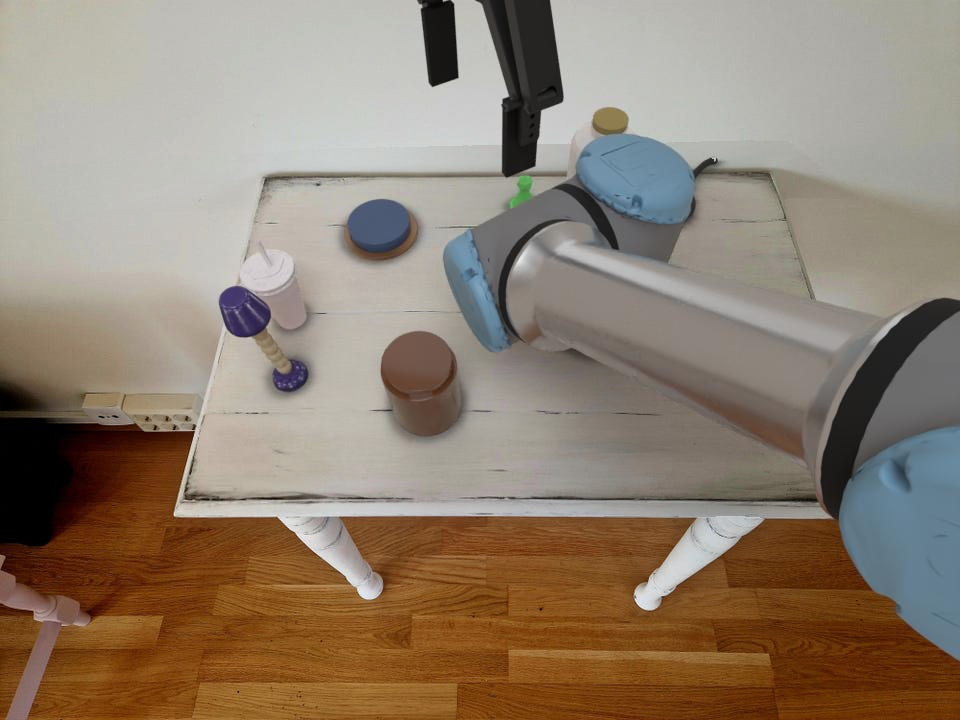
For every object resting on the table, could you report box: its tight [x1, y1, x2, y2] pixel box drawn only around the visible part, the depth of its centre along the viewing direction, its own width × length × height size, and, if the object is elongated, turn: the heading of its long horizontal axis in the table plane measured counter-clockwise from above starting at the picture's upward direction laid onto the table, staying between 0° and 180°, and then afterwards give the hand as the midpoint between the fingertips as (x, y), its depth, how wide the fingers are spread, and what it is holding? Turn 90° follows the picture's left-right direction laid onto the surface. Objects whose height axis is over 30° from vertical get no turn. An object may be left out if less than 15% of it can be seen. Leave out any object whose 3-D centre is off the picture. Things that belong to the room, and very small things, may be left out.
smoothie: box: [239, 238, 308, 330], centre depth 68 cm, size 6×6×14 cm
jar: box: [380, 330, 462, 437], centre depth 63 cm, size 8×8×10 cm
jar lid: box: [346, 198, 411, 253], centre depth 80 cm, size 9×9×2 cm
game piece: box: [509, 175, 534, 209], centre depth 81 cm, size 4×4×6 cm
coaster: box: [343, 209, 419, 261], centre depth 81 cm, size 10×10×1 cm
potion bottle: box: [565, 106, 637, 181], centre depth 73 cm, size 8×8×18 cm
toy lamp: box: [218, 285, 309, 393], centre depth 62 cm, size 5×5×17 cm
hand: (478, 122), depth 49 cm, fingers open, 13 cm apart
